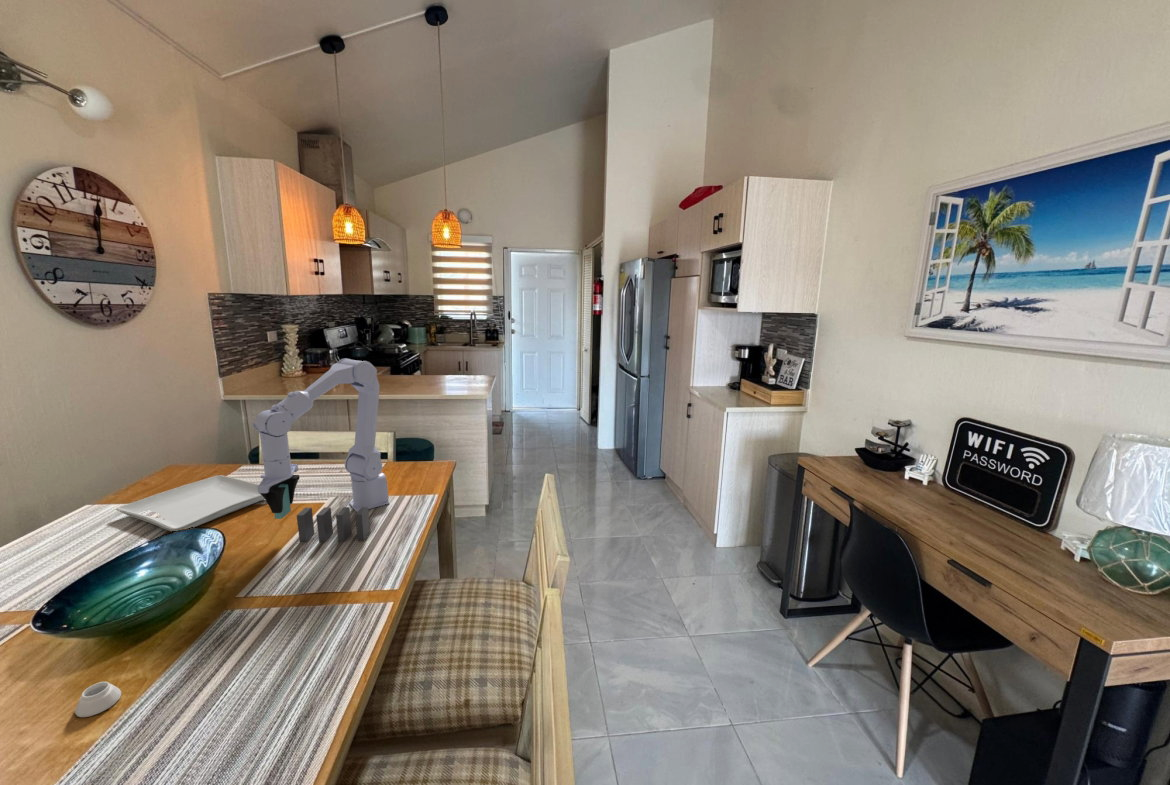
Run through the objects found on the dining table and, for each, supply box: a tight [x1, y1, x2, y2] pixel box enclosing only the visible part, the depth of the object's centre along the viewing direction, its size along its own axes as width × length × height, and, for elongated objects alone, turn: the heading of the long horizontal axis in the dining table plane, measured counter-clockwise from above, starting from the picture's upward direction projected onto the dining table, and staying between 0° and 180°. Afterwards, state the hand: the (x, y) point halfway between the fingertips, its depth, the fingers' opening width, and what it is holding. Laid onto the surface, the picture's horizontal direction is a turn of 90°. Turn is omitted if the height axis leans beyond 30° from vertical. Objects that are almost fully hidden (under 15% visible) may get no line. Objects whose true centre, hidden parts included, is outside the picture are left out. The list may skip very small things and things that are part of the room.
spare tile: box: [273, 484, 292, 520], centre depth 121 cm, size 2×4×8 cm, turn 4°
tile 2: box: [335, 506, 353, 543], centre depth 124 cm, size 2×4×8 cm, turn 4°
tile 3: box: [315, 506, 334, 543], centre depth 123 cm, size 2×4×8 cm, turn 4°
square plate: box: [115, 474, 265, 532], centre depth 139 cm, size 27×27×4 cm
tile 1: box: [354, 507, 371, 542], centre depth 124 cm, size 2×4×8 cm, turn 4°
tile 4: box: [296, 507, 315, 543], centre depth 123 cm, size 2×4×8 cm, turn 4°
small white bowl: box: [74, 681, 122, 718], centre depth 74 cm, size 5×3×5 cm
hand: (282, 507), depth 122 cm, fingers closed on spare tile, 4 cm apart
